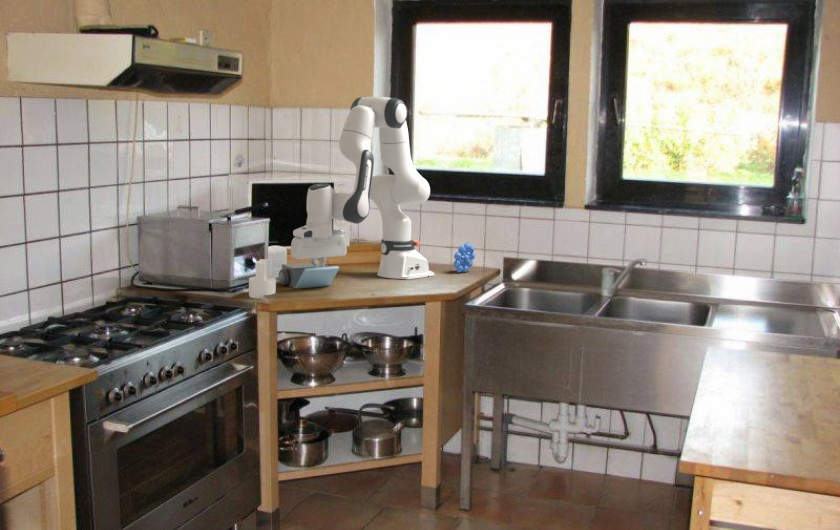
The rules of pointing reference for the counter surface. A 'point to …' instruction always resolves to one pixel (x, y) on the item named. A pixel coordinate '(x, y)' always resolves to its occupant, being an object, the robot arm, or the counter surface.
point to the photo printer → (276, 260)
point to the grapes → (464, 258)
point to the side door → (317, 277)
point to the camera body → (293, 273)
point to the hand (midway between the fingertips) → (319, 270)
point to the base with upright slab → (262, 281)
